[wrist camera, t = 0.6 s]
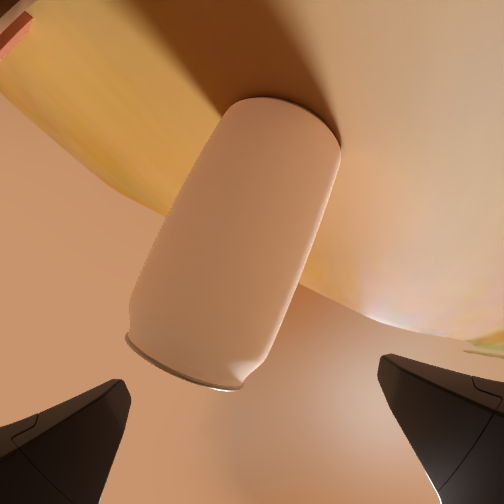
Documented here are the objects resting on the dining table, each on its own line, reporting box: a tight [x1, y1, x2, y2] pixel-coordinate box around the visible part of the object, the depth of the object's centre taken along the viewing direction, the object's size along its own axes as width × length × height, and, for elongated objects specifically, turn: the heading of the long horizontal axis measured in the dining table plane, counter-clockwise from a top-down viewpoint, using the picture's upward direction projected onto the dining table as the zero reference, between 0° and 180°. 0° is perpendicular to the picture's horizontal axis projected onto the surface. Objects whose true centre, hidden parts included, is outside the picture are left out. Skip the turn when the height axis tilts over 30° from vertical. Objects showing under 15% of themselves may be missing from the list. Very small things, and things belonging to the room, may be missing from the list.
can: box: [125, 97, 341, 391], centre depth 13 cm, size 6×6×12 cm
